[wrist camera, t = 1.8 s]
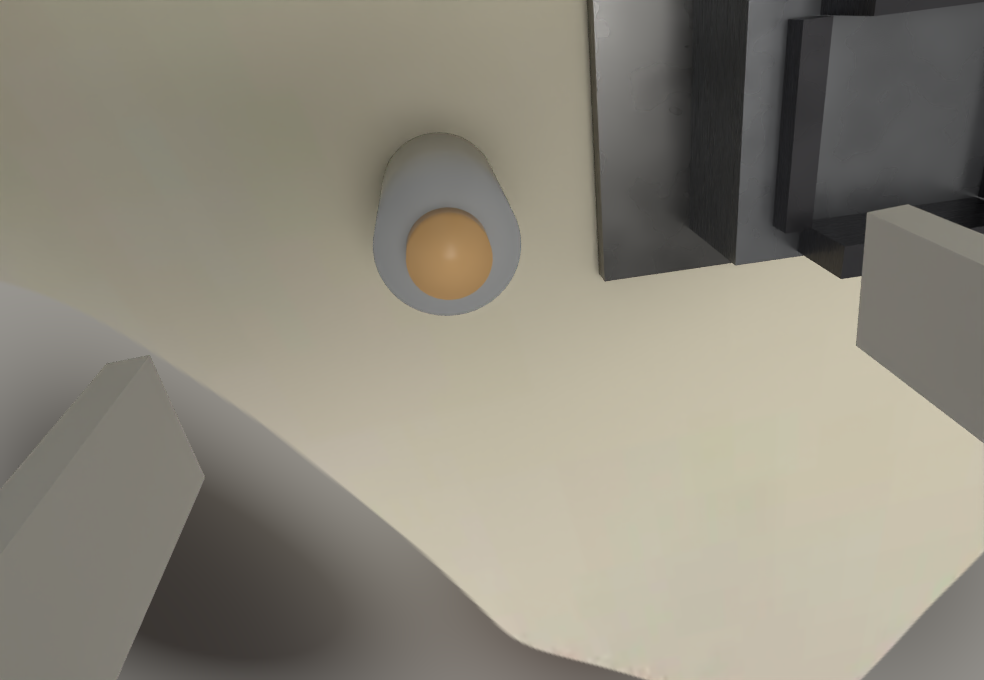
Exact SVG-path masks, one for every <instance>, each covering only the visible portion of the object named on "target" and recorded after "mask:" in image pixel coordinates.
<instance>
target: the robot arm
mask: <svg viewBox="0 0 984 680" xmlns="http://www.w3.org/2000/svg"><path fill="white" fill-rule="evenodd" d="M856 346H857V347H859V348H860V349H861V350H863V351H864V352H865V353H867V354H868V355H869V356H871V357H872V358H873V359H874V360H876V361H877V362H878V363H880V364H881V365H882V366H884V367H885V368H886V369H888V370H889V371H890V372H891V373H893V374H894V375H895V376H897V377H898V378H899V379H901V380H902V381H903V382H905V383H906V384H907V385H908V386H910V387H911V388H912V389H914V390H915V391H916V392H918V393H919V394H920V395H922V396H923V397H924V398H925V399H927V400H928V401H929V402H931V403H932V404H933V405H935V406H936V407H937V408H939V409H940V410H941V411H942V412H944V413H945V414H946V415H948V416H949V417H950V418H952V419H953V420H954V421H956V422H957V423H958V424H959V425H961V426H962V427H963V428H965V429H966V430H967V431H969V432H970V433H971V434H973V435H974V436H975V437H977V438H978V439H979V440H980V441H982V442H983V443H984V234H981V233H979V232H976V231H974V230H971V229H969V228H966V227H964V226H961V225H959V224H956V223H954V222H951V221H949V220H946V219H944V218H941V217H939V216H936V215H934V214H931V213H929V212H926V211H924V210H921V209H919V208H916V207H914V206H911V205H909V204H907V205H902V206H897V207H892V208H887V209H882V210H876V211H871V212H867V219H866V231H865V243H864V255H863V267H862V279H861V291H860V303H859V315H858V327H857V339H856ZM204 479H205V476H204V474H203V472H202V470H201V468H200V465H199V463H198V461H197V459H196V457H195V454H194V452H193V450H192V448H191V446H190V443H189V441H188V439H187V437H186V435H185V432H184V430H183V428H182V426H181V423H180V421H179V419H178V417H177V415H176V412H175V410H174V408H173V406H172V404H171V401H170V399H169V397H168V395H167V392H166V390H165V388H164V386H163V384H162V381H161V379H160V377H159V375H158V373H157V370H156V368H155V366H154V364H153V362H152V359H151V357H150V355H148V356H144V357H138V358H133V359H128V360H123V361H118V362H113V363H108V364H106V365H105V366H104V368H103V369H102V370H101V371H100V372H99V373H98V375H97V376H96V377H95V378H94V380H92V382H91V383H90V384H89V385H88V387H87V388H86V389H85V390H84V391H83V392H82V393H81V395H80V396H79V397H78V398H77V399H76V400H75V402H74V403H73V404H72V405H71V406H70V408H69V409H68V410H67V411H66V412H65V413H64V415H63V416H62V417H61V418H60V419H59V421H58V422H57V423H56V424H55V425H54V427H53V428H52V429H51V430H50V431H49V432H48V433H47V435H46V436H45V437H44V438H43V439H42V441H41V442H40V443H39V444H38V445H37V446H36V448H35V449H34V450H33V451H32V452H31V453H30V455H29V456H28V457H27V458H26V459H25V461H24V462H23V463H22V464H21V465H20V466H19V468H18V469H17V470H16V471H15V472H14V473H13V475H12V476H11V477H10V478H9V479H8V481H7V482H6V483H5V484H4V485H3V486H2V488H1V489H0V680H117V678H118V675H119V673H120V671H121V669H122V666H123V664H124V662H125V659H126V657H127V655H128V652H129V650H130V648H131V645H132V643H133V641H134V639H135V636H136V634H137V632H138V630H139V627H140V625H141V623H142V620H143V618H144V616H145V614H146V611H147V609H148V607H149V604H150V602H151V600H152V598H153V595H154V593H155V591H156V588H157V586H158V584H159V581H160V579H161V577H162V575H163V572H164V570H165V568H166V566H167V563H168V561H169V559H170V556H171V554H172V552H173V550H174V547H175V545H176V543H177V540H178V538H179V535H180V533H181V531H182V529H183V526H184V524H185V522H186V520H187V517H188V515H189V513H190V511H191V508H192V506H193V504H194V501H195V499H196V497H197V495H198V492H199V490H200V487H201V485H202V483H203V481H204Z"/></svg>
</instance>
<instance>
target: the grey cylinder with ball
mask: <svg viewBox="0 0 984 680" xmlns="http://www.w3.org/2000/svg"><path fill="white" fill-rule="evenodd" d="M520 252H521V236H520V230H519V226H518V223H517V220H516V218H515V215H514V213H513V211H512V209H511V207H510V205H509V203H508V201H507V199H506V197H505V195H504V193H503V191H502V189H501V187H500V185H499V183H498V180H497V178H496V176H495V174H494V172H493V170H492V168H491V166H490V164H489V162H488V161H487V159H486V157H485V156H484V155H483V153H482V152H481V151H480V150H479V149H478V148H477V147H476V146H475V145H473V144H472V143H470V142H469V141H467V140H465V139H463V138H461V137H459V136H456V135H453V134H448V133H429V134H424V135H421V136H418V137H415V138H414V139H412V140H410V141H408V142H407V143H405V144H404V145H403V146H401V147H400V148H399V149H398V150H397V151H396V153H395V154H394V155H393V156H392V158H391V160H390V161H389V163H388V165H387V167H386V170H385V173H384V177H383V183H382V189H381V195H380V201H379V207H378V213H377V219H376V225H375V231H374V237H373V253H374V259H375V263H376V267H377V269H378V272H379V274H380V276H381V278H382V280H383V281H384V283H385V285H386V286H387V287H388V288H389V290H390V291H391V292H392V293H393V294H394V295H395V296H396V297H397V298H398V299H400V300H401V301H402V302H404V303H405V304H407V305H409V306H410V307H412V308H414V309H417V310H419V311H422V312H425V313H429V314H434V315H444V316H450V315H460V314H464V313H468V312H471V311H474V310H477V309H479V308H481V307H483V306H485V305H486V304H488V303H489V302H491V301H492V300H494V299H495V298H496V297H497V296H498V295H499V294H500V293H501V292H502V291H503V290H504V289H505V288H506V286H507V285H508V284H509V282H510V281H511V279H512V277H513V275H514V274H515V271H516V269H517V266H518V263H519V258H520Z"/></svg>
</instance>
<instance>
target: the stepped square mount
mask: <svg viewBox="0 0 984 680" xmlns="http://www.w3.org/2000/svg"><path fill="white" fill-rule="evenodd" d="M587 5H588V27H589V50H590V73H591V96H592V118H593V141H594V164H595V186H596V209H597V232H598V255H599V274H600V275H601V277H602V278H603V280H604V281H610V280H617V279H624V278H631V277H638V276H645V275H651V274H658V273H665V272H672V271H679V270H686V269H693V268H700V267H707V266H713V265H720V264H727V263H733V264H734V265H741V264H748V263H755V262H762V261H769V260H776V259H783V258H790V257H797V256H803V255H804V256H806V257H807V258H809V259H810V260H812V261H813V262H815V263H817V264H818V265H820V266H821V267H823V268H824V269H826V270H828V271H829V272H831V273H832V274H834V275H835V276H837V277H839V278H840V279H844V278H851V277H857V276H862V267H863V255H864V243H865V231H866V219H867V212H871V211H876V210H882V209H887V208H892V207H897V206H902V205H907V204H909V205H911V206H914V207H916V208H919V209H921V210H924V211H926V212H929V213H931V214H934V215H936V216H939V217H941V218H944V219H946V220H949V221H951V222H954V223H956V224H959V225H961V226H964V227H966V228H969V229H971V230H974V231H976V232H979V233H981V234H984V0H587Z"/></svg>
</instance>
